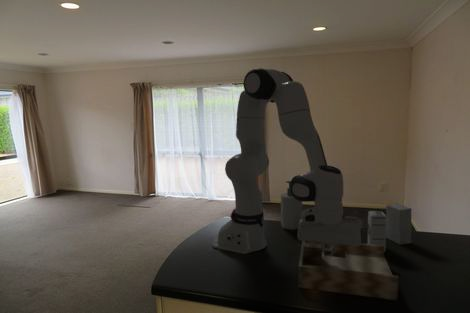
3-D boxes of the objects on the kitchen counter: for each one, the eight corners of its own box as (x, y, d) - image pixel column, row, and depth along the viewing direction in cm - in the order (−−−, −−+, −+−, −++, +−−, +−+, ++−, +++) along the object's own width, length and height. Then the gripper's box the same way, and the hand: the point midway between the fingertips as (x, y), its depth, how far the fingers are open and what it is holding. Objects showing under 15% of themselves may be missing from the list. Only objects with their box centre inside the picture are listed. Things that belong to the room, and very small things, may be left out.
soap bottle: (292, 221, 153) (292, 178, 150) (305, 226, 146) (306, 181, 143) (276, 225, 148) (276, 181, 145) (289, 231, 140) (290, 184, 137)
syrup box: (385, 251, 118) (387, 215, 116) (369, 250, 119) (371, 215, 117) (381, 245, 123) (383, 211, 121) (366, 244, 124) (367, 210, 123)
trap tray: (298, 287, 95) (298, 266, 94) (302, 255, 116) (302, 238, 115) (397, 300, 87) (398, 277, 86) (382, 264, 108) (383, 245, 107)
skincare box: (411, 243, 125) (413, 208, 123) (398, 245, 123) (400, 210, 121) (396, 235, 133) (398, 203, 131) (384, 237, 131) (386, 204, 129)
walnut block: (303, 264, 101) (303, 249, 101) (304, 256, 107) (304, 242, 106) (321, 266, 100) (322, 251, 99) (321, 257, 105) (322, 244, 105)
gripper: (361, 214, 100) (359, 253, 102) (298, 210, 106) (298, 247, 108) (363, 220, 94) (362, 262, 96) (296, 215, 100) (296, 255, 102)
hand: (327, 254), depth 102 cm, fingers closed
